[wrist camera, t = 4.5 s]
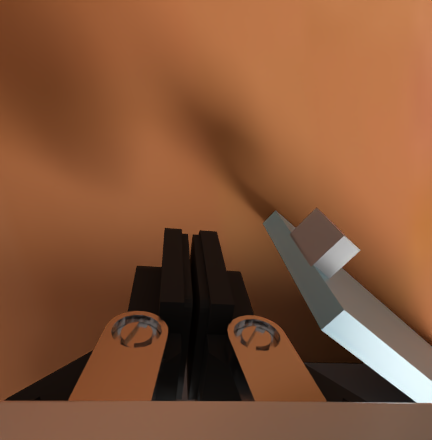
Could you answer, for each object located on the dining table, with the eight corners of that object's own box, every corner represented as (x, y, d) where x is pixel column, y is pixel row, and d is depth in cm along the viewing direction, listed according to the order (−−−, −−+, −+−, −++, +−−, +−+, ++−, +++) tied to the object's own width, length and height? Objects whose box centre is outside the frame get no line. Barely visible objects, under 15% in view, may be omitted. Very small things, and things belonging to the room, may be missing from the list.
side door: (465, 343, 20) (606, 480, 13) (431, 369, 21) (552, 512, 14) (296, 187, 16) (385, 277, 9) (259, 225, 16) (316, 337, 9)
